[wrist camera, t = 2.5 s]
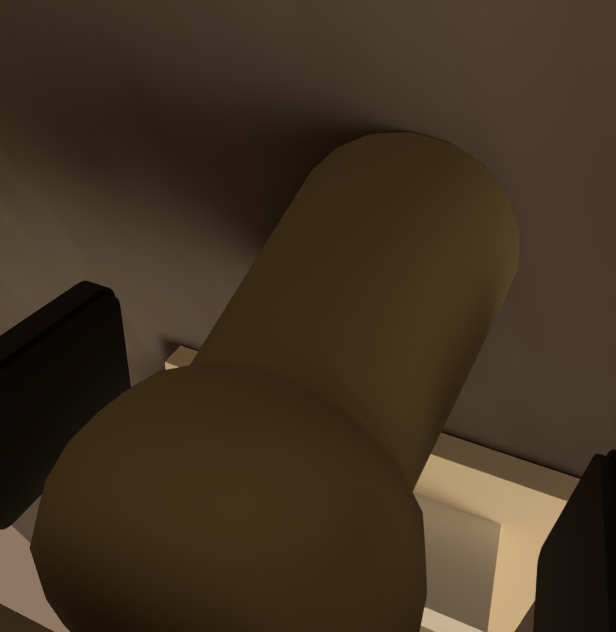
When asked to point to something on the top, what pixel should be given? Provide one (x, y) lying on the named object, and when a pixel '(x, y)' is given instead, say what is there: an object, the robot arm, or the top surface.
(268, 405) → the cork
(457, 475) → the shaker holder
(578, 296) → the top surface
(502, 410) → the top surface
